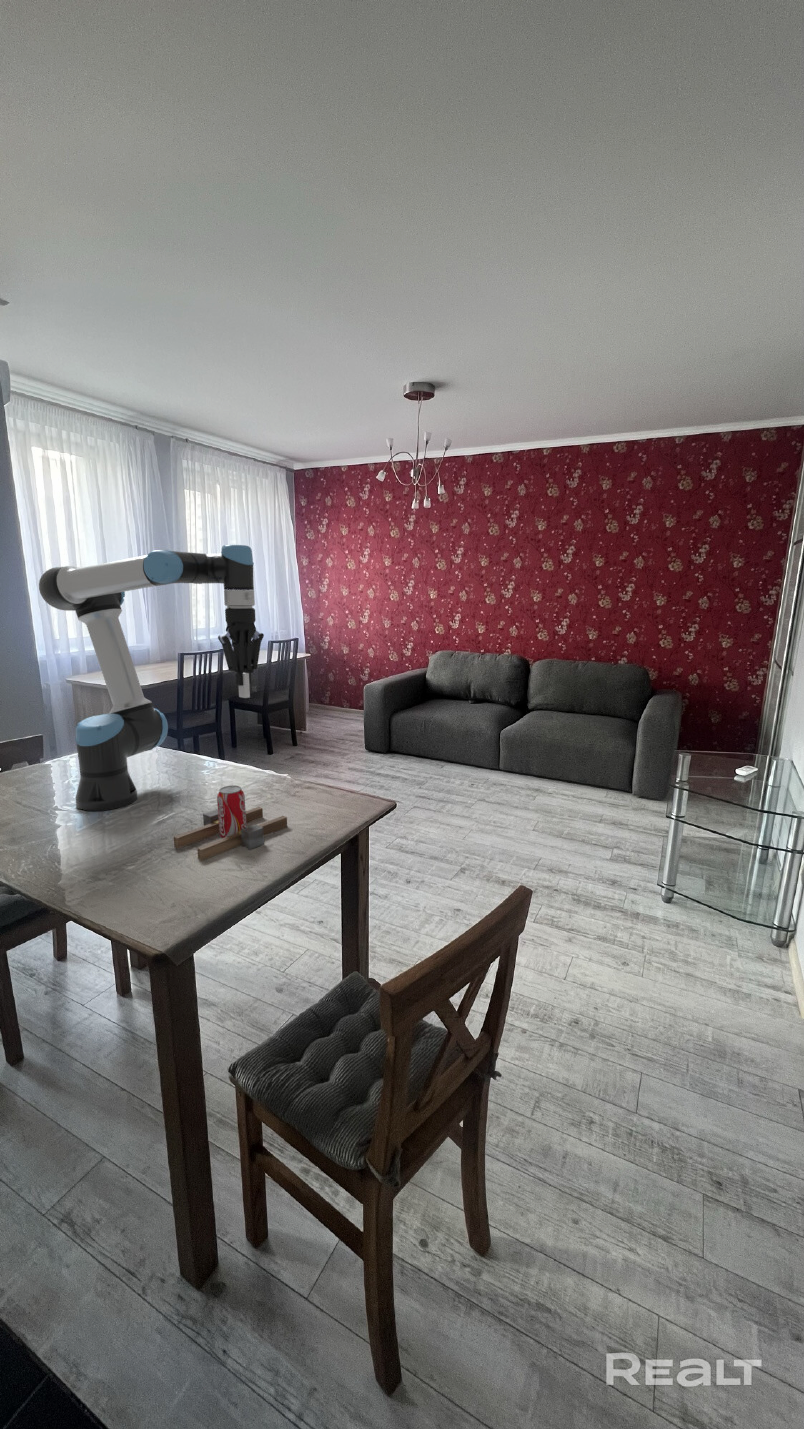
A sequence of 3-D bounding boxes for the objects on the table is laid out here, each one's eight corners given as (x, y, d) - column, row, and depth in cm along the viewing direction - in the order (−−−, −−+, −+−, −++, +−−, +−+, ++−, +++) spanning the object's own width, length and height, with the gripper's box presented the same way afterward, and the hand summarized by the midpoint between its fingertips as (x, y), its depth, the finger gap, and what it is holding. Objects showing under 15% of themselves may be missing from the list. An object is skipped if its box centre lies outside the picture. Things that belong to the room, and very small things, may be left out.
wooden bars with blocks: (166, 842, 137) (164, 826, 136) (250, 812, 156) (250, 798, 155) (211, 865, 126) (210, 847, 125) (296, 830, 145) (296, 814, 144)
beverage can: (241, 842, 137) (237, 794, 135) (215, 841, 138) (211, 793, 135) (251, 831, 143) (248, 784, 141) (226, 830, 144) (223, 783, 141)
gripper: (227, 608, 145) (232, 702, 150) (269, 607, 155) (273, 695, 160) (209, 607, 150) (215, 698, 155) (251, 606, 160) (255, 692, 165)
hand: (244, 697), depth 157 cm, fingers closed
